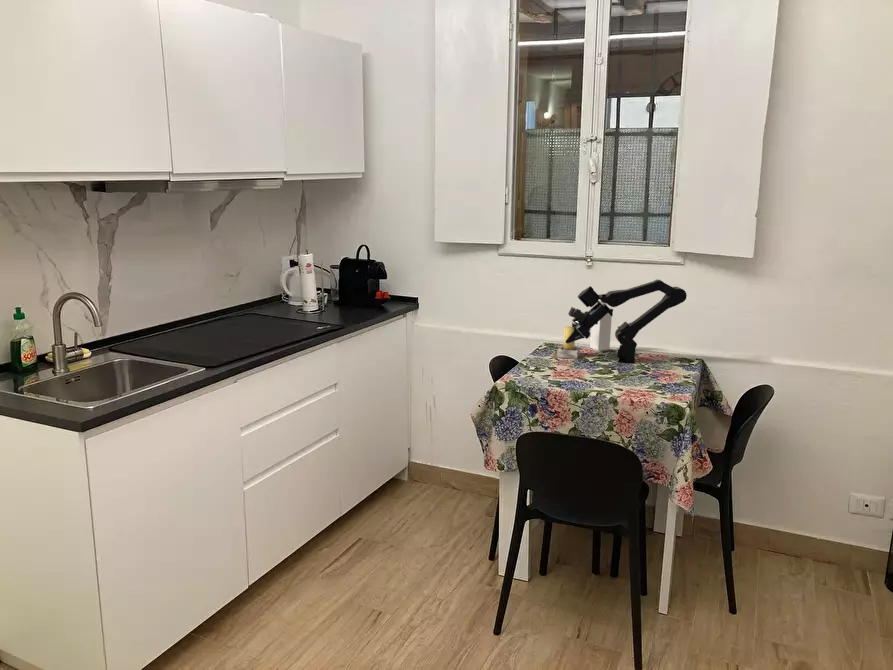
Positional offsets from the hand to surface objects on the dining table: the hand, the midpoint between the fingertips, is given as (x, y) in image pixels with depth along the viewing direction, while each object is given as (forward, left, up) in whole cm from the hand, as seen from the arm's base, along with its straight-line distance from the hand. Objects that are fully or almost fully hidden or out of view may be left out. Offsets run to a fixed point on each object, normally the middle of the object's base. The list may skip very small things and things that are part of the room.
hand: (565, 341), depth 289 cm
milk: (-12, -19, -8) cm, 24 cm away
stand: (-1, 0, -7) cm, 8 cm away
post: (-1, 0, -5) cm, 5 cm away
